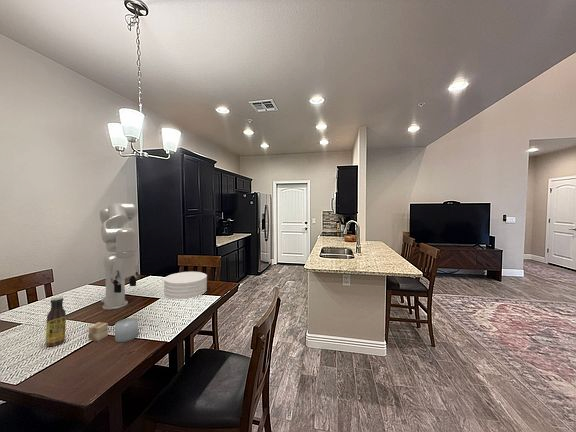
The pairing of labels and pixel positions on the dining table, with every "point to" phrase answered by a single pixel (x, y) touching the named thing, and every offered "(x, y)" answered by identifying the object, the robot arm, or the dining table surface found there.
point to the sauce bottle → (56, 323)
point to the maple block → (98, 331)
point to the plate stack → (185, 285)
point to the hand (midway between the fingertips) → (125, 289)
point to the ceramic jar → (126, 329)
